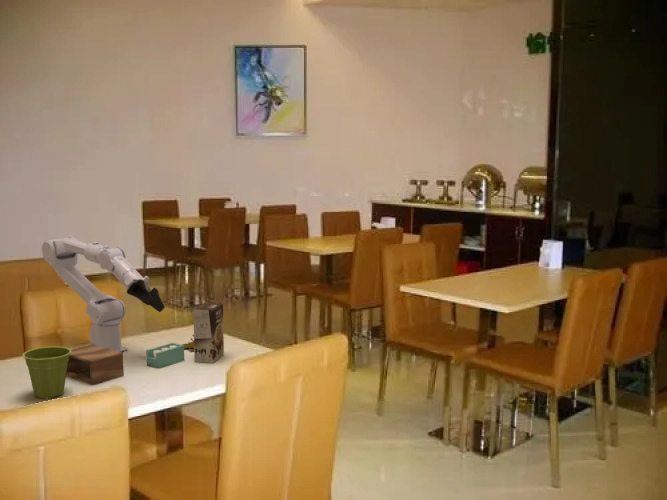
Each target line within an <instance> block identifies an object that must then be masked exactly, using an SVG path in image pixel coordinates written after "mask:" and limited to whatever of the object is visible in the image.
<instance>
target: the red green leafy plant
mask: <svg viewBox="0 0 667 500" xmlns="http://www.w3.org/2000/svg"><path fill="white" fill-rule="evenodd" d="M191 335H192V337H193V339H192V337H190V338H189V339H190V341H191V342H189V341H188V342H187V343H184V344H181V345H184V349H187V348H188V350H189V352H194V333H193V334H191ZM192 348H193V349H192Z"/></svg>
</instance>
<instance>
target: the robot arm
mask: <svg viewBox="0 0 667 500" xmlns="http://www.w3.org/2000/svg"><path fill="white" fill-rule="evenodd" d="M41 252H42V253H41V254H42V258H43V260H44V261H45V262H47V264H48V265H50V266H51V267H52V268H53V270H54V271H55V273H56V274H57V276H58V277H59V278H60V279H61V280H62V281H63V282H64V283H65V284H66V285H67V286H68V287H69V288H70V290H71V289H72V290H73V292H74V293H76V294H77V295H78V296H79V298H80V299H82V301H84V302H85V303H86V308H85V313H86V314H87V315H88V316H89V319H90V320H91V322H92V324H91V326H90V329H89V340H90V342H89V343H90V345H91V344H94V345H97V346H101V347H104V348H108V349H111V350H115V351H118V352H124V351H128V348H127V347H123V346H122V334H121V333H122V330H121V323H122V322H123V319H124V318H125V316H126V306H125V303H124V302H123V301H122V300H121V299H117V298H116V297H114V295H110V294H105V293H103V292H102V291H101V290H99V288H97V286H95V285H94V283H92V282H91V281H90V279H88V278H87V277H86V276H85V275H84V274H83V273H82V272H81V271H80V270H78V268H76V267H75V266H77V264H78V254H79V255H80V256H81V255H82V256H84V258H85V259H86V261H90V262H92V263H94V264H95V263H96V264H98V265H100V266H99V267H100V269H102V270H107V271H108V272H109V273H111V274H112V275H114V277H115V278H116V279H117V280H118V281H119V283H121V284H122V285H123V286H124V287H125V288H126V289H125V290H126V294H128V295H130V296H133V297H135V298H136V299H138V300H140V301H141V303H143V304H145V305H147V306H150V307H152V308H153V309H154V310H155V311H158V312H159V313H161V312H162V311H163V310H164V309H165V305H164V303H163V301H162V300H161V297H160V293H159V289H157V288H156V287H153V288H152V289H151V287H150V285H149V284H150V283H149V281H150V277H149V276H147V275H145V276H144V277H143V276H142V275H141V274H140V272H138V271H137V268H135V267H134V266H133V265H132V264H131V263H130V262H129V261H128V260H127V259H126V254H125V253H126V252H125V251H124V250H123V248H121V247H119V246H115V247H113V248H111V247H110V246H109V245H106V244H105V245H102V244H100V243H99V241H92V242H91V243H88V244H87V243H85V242H83V241H80V240H78V239H77V238H76V237H72V236H68V237H64V238H57V239H47V240H44V241H43V242H42V245H41Z"/></svg>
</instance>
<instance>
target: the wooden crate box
mask: <svg viewBox="0 0 667 500" xmlns="http://www.w3.org/2000/svg"><path fill="white" fill-rule="evenodd" d="M71 350H72V352H71V354H69V361H68V363H67V371H66V377H69V378H72V379H75V380H77V381H80V382H82V383H87V384H89V385H92V386H96V385H99V384H101V383H104V382H108V381H110V380H114V379H117V378H120V377H121V378H122V377H123V376H125V375H124V374H125V370H124V352H123V351H121V352H118V351H115V350H111V349H108V348H104V347H101V346H97V345H94V344H91V343H90V344H88V345H84V346H80V347H77V348H72V349H71ZM86 370H89V373H90V374H89V376H90V377H88V376H85V375H82V374H79V372H82V371H86Z"/></svg>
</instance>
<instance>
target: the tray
mask: <svg viewBox="0 0 667 500" xmlns="http://www.w3.org/2000/svg"><path fill="white" fill-rule="evenodd" d="M145 356H146V366H148V367H152V368H155V369H161V368H163V367H167V366H170V365H173V364H176V363H180V362H182V361H185V348H184V345H182V344H179V343H175V342H170V343H167V344H163V345H159V346H156V347H152V348H149V349H146V351H145Z"/></svg>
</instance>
